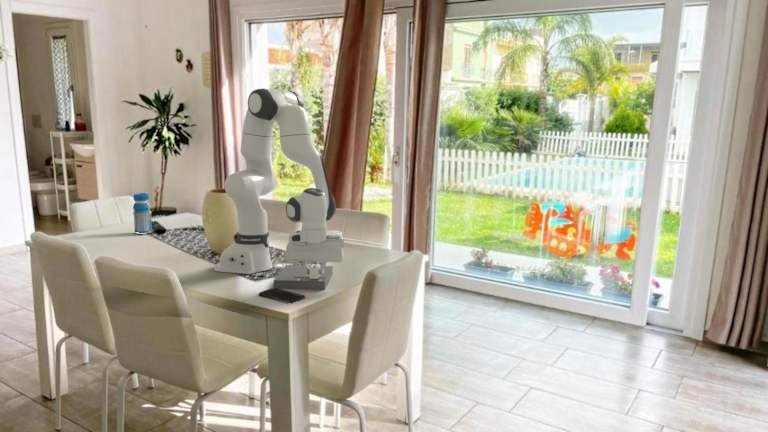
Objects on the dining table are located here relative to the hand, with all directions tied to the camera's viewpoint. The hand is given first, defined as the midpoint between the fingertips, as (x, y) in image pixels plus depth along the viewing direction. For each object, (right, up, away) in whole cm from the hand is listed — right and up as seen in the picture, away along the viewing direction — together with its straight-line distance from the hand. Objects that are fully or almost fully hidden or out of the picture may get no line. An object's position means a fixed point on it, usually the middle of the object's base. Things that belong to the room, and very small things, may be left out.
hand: (315, 273), depth 204 cm
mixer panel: (-5, -3, +7) cm, 9 cm away
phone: (-10, -7, -11) cm, 17 cm away
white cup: (+2, +3, +45) cm, 45 cm away
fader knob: (0, -1, 0) cm, 1 cm away
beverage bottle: (-96, +11, +84) cm, 128 cm away
